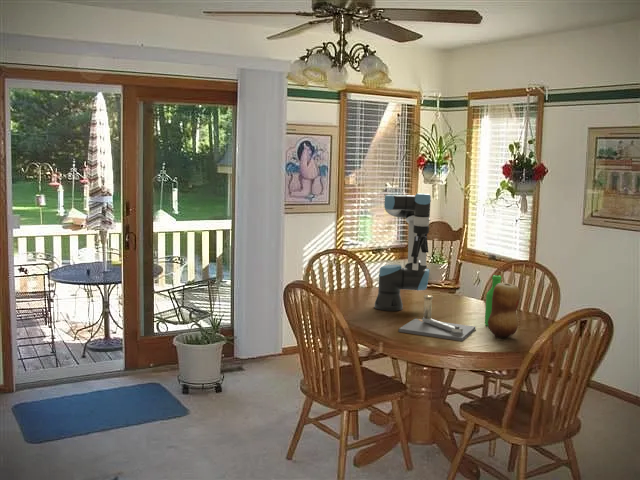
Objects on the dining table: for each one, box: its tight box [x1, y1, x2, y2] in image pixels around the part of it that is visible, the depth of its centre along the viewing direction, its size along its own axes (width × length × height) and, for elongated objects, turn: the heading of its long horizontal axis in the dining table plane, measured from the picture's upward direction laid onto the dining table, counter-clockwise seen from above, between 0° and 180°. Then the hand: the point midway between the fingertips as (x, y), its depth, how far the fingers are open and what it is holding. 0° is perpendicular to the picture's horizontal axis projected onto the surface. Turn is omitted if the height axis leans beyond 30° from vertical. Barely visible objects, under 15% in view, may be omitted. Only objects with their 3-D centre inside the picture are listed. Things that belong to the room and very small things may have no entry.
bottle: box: [484, 274, 502, 327], centre depth 334 cm, size 9×9×25 cm
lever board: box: [398, 318, 476, 342], centre depth 322 cm, size 30×24×2 cm
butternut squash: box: [487, 282, 521, 339], centre depth 313 cm, size 14×13×25 cm
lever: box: [422, 294, 463, 334], centre depth 320 cm, size 27×5×13 cm, turn 29°
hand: (419, 267), depth 338 cm, fingers open, 13 cm apart
